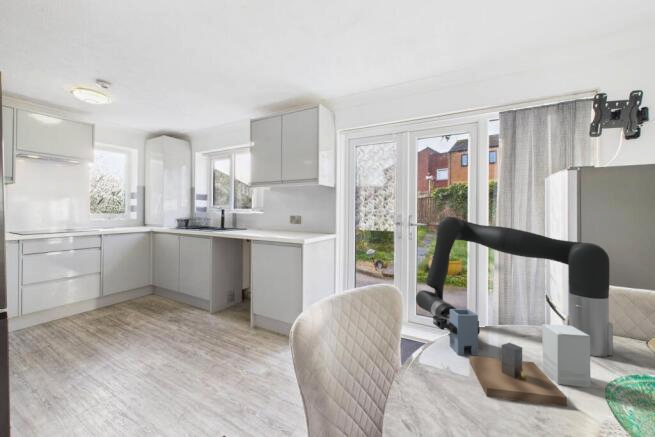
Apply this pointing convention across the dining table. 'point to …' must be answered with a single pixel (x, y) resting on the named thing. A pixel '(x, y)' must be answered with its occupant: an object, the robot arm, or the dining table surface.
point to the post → (512, 361)
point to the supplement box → (566, 355)
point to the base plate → (516, 382)
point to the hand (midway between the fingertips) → (467, 331)
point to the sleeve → (464, 331)
